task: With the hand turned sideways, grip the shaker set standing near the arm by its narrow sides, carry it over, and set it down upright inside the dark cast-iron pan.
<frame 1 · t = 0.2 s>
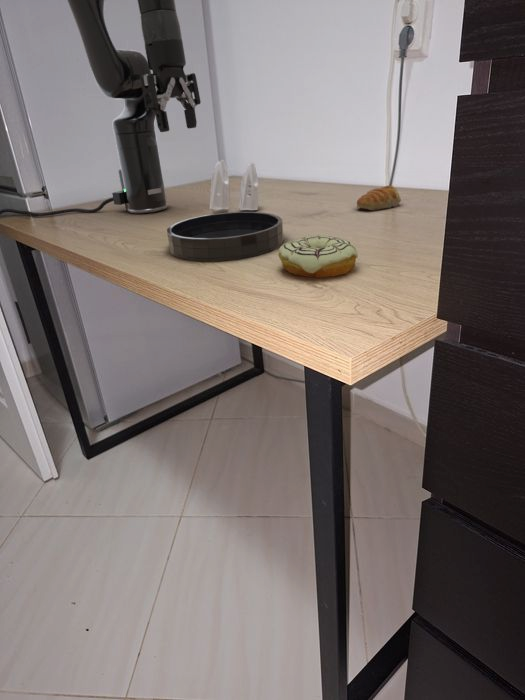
hand: (178, 129, 105), 17 cm above the table, tool pointing down, fingers open, 8 cm apart
pastry: (378, 207, 104), on the table
shaker set: (234, 213, 109), on the table
decorated donut: (317, 269, 70), on the table
pan: (226, 244, 85), on the table
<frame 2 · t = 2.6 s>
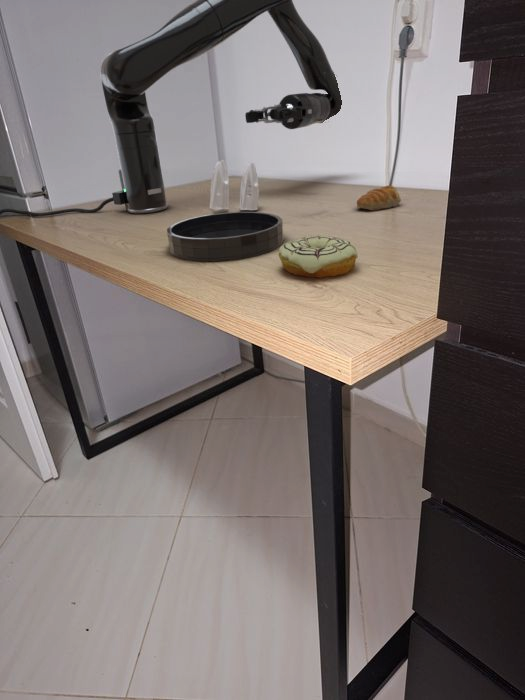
hand: (262, 116, 110), 18 cm above the table, tool horizontal, fingers open, 8 cm apart
nothing on the table moved.
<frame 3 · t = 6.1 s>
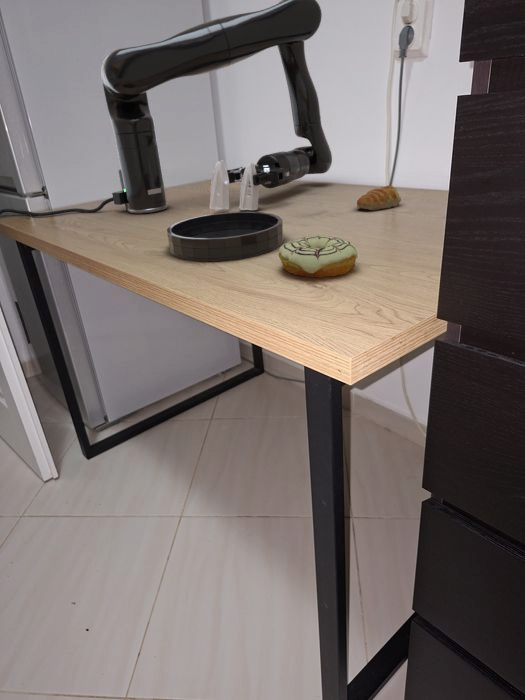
hand: (238, 180, 108), 7 cm above the table, tool horizontal, fingers open, 8 cm apart
nothing on the table moved.
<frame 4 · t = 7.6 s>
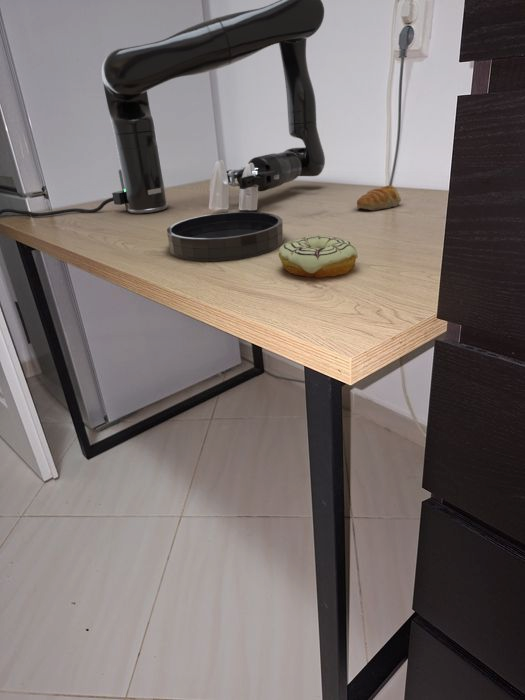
hand: (226, 183, 105), 7 cm above the table, tool horizontal, fingers closed on shaker set, 7 cm apart
shaker set: (234, 213, 109), on the table, touching gripper
everything else where it was.
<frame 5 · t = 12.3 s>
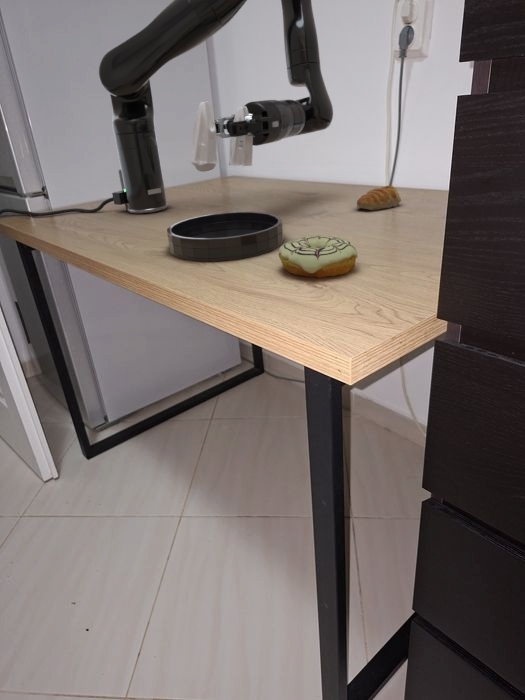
hand: (213, 130, 84), 18 cm above the table, tool horizontal, fingers closed on shaker set, 7 cm apart
shaker set: (223, 170, 88), point 11 cm above the table, touching gripper
everything else where it was.
when the fingers open (7 cm above the table, at t = 17.0 s): shaker set stays where it is, resting on pan.
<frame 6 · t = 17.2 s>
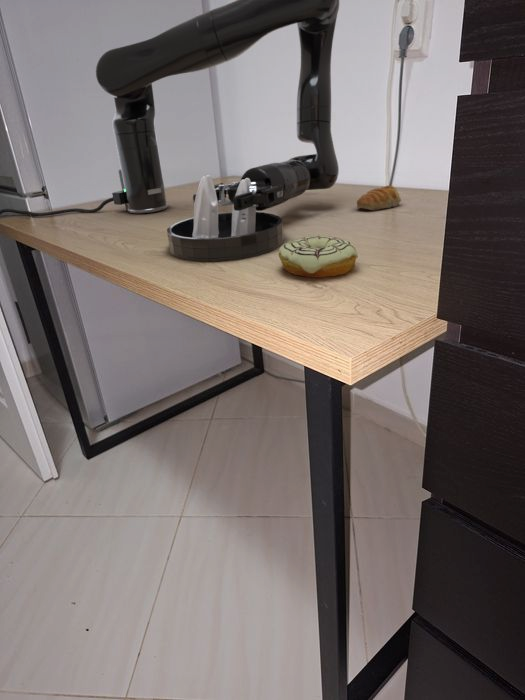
hand: (214, 202, 81), 7 cm above the table, tool horizontal, fingers open, 8 cm apart
shaker set: (225, 242, 85), resting on pan
everything else where it was.
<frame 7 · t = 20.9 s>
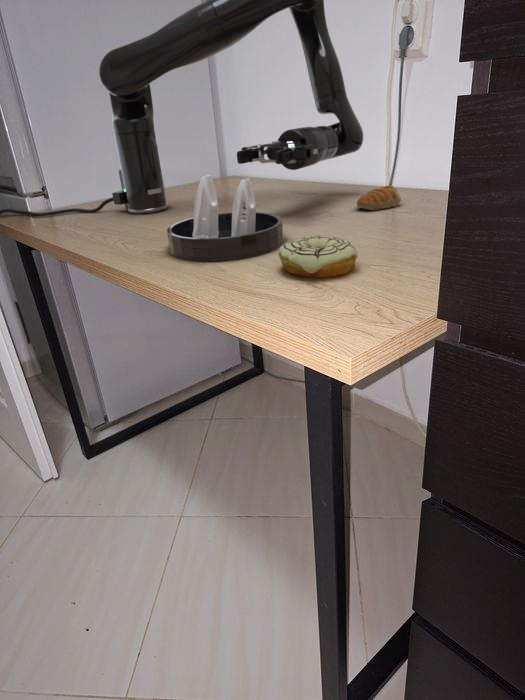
hand: (257, 157, 90), 12 cm above the table, tool horizontal, fingers open, 8 cm apart
nothing on the table moved.
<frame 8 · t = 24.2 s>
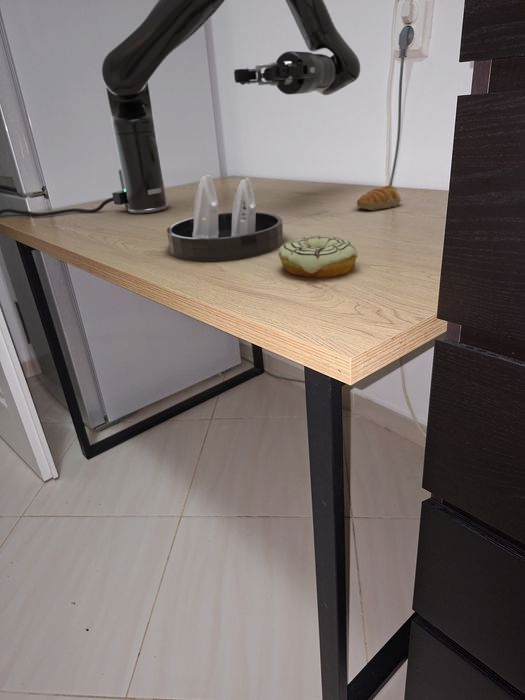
hand: (254, 73, 90), 26 cm above the table, tool horizontal, fingers open, 8 cm apart
nothing on the table moved.
at the end: shaker set inside the target area in the pan (0.2 cm from its centre), point 0.3 cm above the pan's base; shaker set tilted 0°; the gripper is holding nothing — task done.
